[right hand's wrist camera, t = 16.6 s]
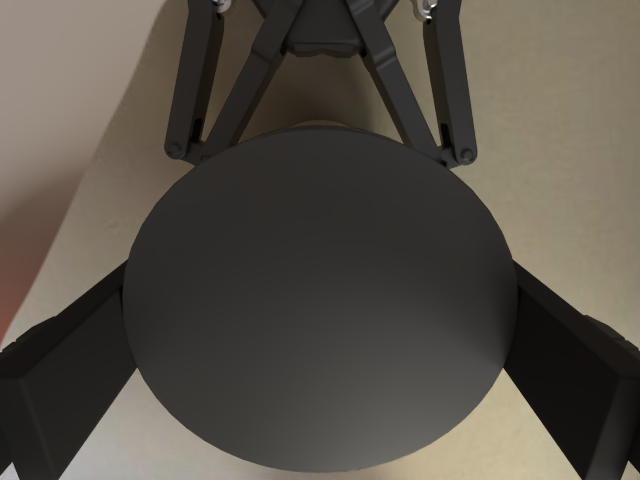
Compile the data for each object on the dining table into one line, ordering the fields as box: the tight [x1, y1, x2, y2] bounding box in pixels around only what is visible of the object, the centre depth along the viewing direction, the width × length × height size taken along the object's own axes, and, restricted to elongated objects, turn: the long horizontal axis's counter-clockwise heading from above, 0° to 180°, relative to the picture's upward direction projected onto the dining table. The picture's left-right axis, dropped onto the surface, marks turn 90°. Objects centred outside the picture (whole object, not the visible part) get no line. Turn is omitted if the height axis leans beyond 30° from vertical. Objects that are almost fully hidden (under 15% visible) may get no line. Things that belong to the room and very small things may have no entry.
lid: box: [122, 125, 519, 473], centre depth 11 cm, size 11×11×2 cm
